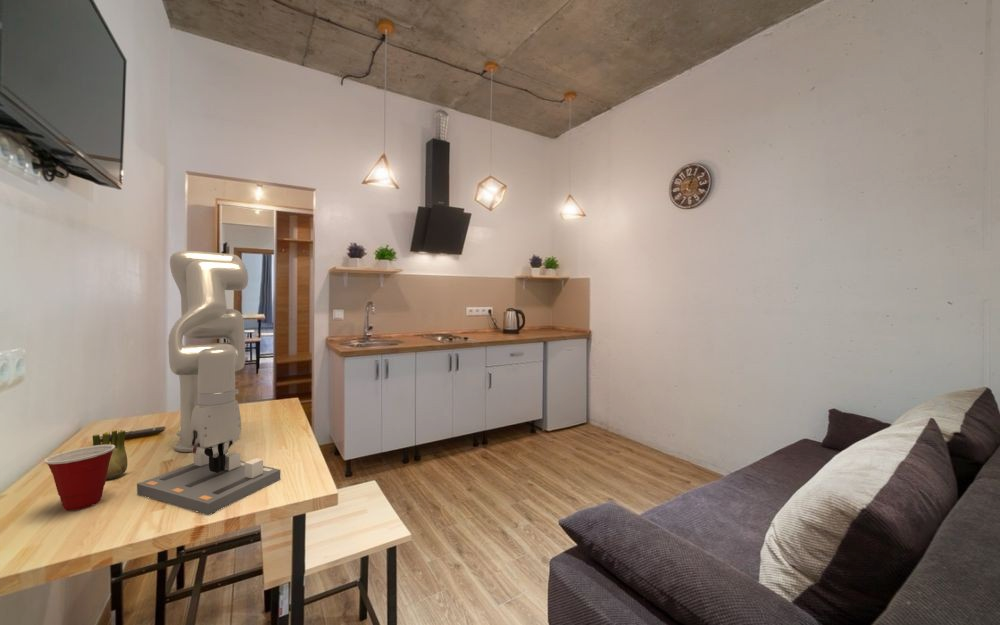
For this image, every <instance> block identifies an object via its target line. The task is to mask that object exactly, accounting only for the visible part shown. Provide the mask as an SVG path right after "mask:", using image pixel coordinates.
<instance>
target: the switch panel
mask: <svg viewBox="0 0 1000 625" xmlns="http://www.w3.org/2000/svg"><path fill="white" fill-rule="evenodd" d="M245 462H246V461H242V460H241V466H239V467H237V468H235V469H232V470H230V471H228V470H224V471H221V472H219V473H216V472H212V471H210V469H209V463H208V464H206V465H203V466H197V465H194V462H193V463H190V464H188V465H184V466H182V467H179V468H177V469H174V470H171V471H168V472H166V473H163V474H160V475H157V476H155V477H153V478H150V479H146V480H144V481H141V482H138V483H137V484H136V494H137V495H139V496H141V495H142V497H145V496H146V497H145V498H148V497H149V499H153V500H156V501H159V502H162V503H166V504H170V505H172V506H176V507H179V508H183V509H187V510H190V511H194V512H196V511H198V512H197V513H200V512H201V513H200V514H203V513H204V514H203V515H206V514H207V516H210V515H211V513H212V514H214V513H216V512H218V511H219V509H220V510H221V508H222V509H223V507H224V508H225V506H226V507H228V506H229V504H230V505H232V504H234V503H236V502H238V501H240V500H242V499H244V498H245V497H247V496H251V495H252V494H254V493H256V492H257V491H260V490H262V489H263V488H264V489H265V487H267V486H269V485H271V484H274V483H276V482H278V481H279V480H281V469H280V468H274V467H269V466H265V465H263V474H260V475H258V476H256V477H254V478H248V477H245ZM233 502H234V503H233ZM231 503H232V504H231ZM227 505H228V506H227ZM217 510H218V511H217ZM215 511H216V512H215ZM213 512H214V513H213ZM209 514H210V515H209Z"/></svg>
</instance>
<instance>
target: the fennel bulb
mask: <svg viewBox="0 0 1000 625" xmlns="http://www.w3.org/2000/svg"><path fill="white" fill-rule="evenodd" d="M110 435H111V439H110ZM125 437H126V430H122V429H121V430H117V429H112V430H111V432H110V431H107V432H106V431H105V432H103V433H102V441H101V437H100V433H95V434H93V435H92V446H96V445H114V446H115V449H114V450H113V452H112V455H111V459H110V462H109V467H108V472H107V477H106V481H107V480H112V479H116V478H119V477H121V476H122V475H123V474H124V473H125V472H126V470H127V469H128V456H127V452H126V446H125ZM110 440H111V441H110Z"/></svg>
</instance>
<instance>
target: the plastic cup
mask: <svg viewBox="0 0 1000 625" xmlns="http://www.w3.org/2000/svg"><path fill="white" fill-rule="evenodd" d="M114 449H115V446H114V445H111V444H109V445H102V444H101V445H96V446H93V445H92V446H85V447H79V448H75V449H70V450H66V451H64V452H63V451H62V452H60V453H57V454H54V455H51V456H48V457H47V458H45V459H44V460H43V461H44V463H45V464H46V465H47V466H48V468H49V469H50V472H51V474H52V478H53V480H54V483H55V487H56V492H57V494H58V496H59V499H60V502H61V506H62V508H63V510H64V511H68V512H72V511H80V510H84V509H86V508H90V507H93V506H95V505H96V504H98V503H100V501H101V500H102V498H103V493H104V489H105V485H106V481H107V480H106V477H107V472H108V467H109V462H110V459H111V455H112V452H113V450H114Z"/></svg>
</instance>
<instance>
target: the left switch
mask: <svg viewBox="0 0 1000 625" xmlns="http://www.w3.org/2000/svg"><path fill="white" fill-rule="evenodd" d="M193 455H194V456H193V457H194V459H193V460H194V461H193V463H194V465H197V466H203V465H206V464H208V463H209V456H207V455H206V454H193Z"/></svg>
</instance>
